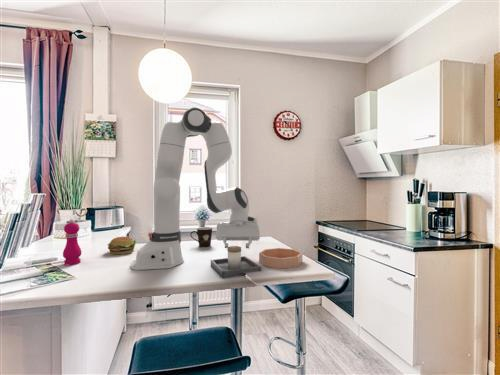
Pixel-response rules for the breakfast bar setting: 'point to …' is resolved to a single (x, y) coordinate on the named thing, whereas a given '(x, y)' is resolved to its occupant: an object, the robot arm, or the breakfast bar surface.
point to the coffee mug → (204, 236)
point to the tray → (226, 272)
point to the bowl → (280, 258)
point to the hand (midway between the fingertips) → (236, 247)
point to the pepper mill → (71, 244)
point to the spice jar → (234, 257)
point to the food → (121, 245)
